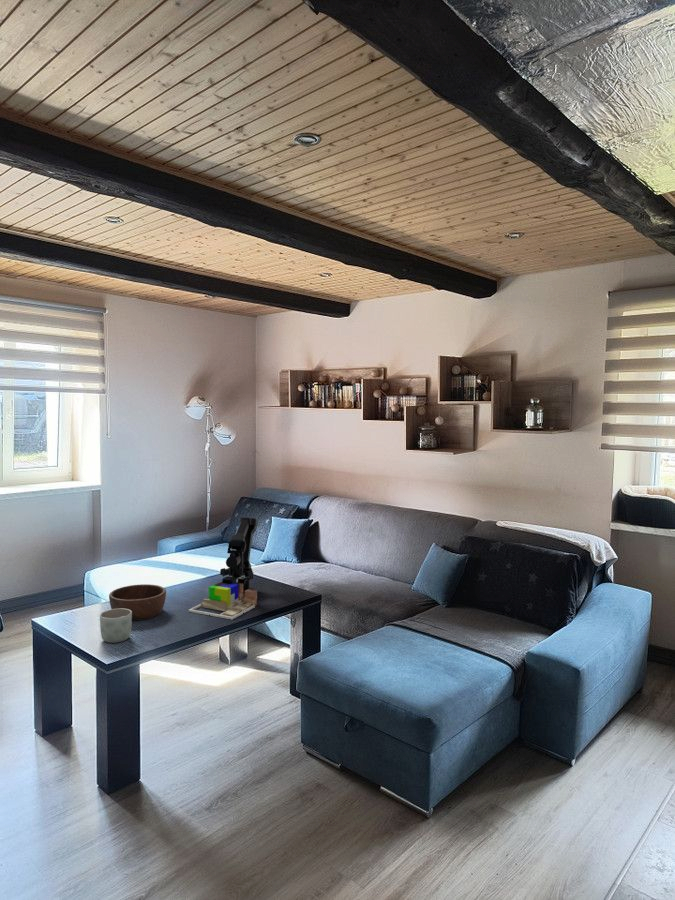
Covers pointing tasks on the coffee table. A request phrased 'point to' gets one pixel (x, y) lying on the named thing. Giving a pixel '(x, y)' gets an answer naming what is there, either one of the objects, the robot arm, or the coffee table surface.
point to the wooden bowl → (139, 600)
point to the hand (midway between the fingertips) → (237, 593)
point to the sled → (223, 605)
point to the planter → (116, 625)
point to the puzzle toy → (224, 593)
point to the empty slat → (249, 601)
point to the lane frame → (221, 613)
